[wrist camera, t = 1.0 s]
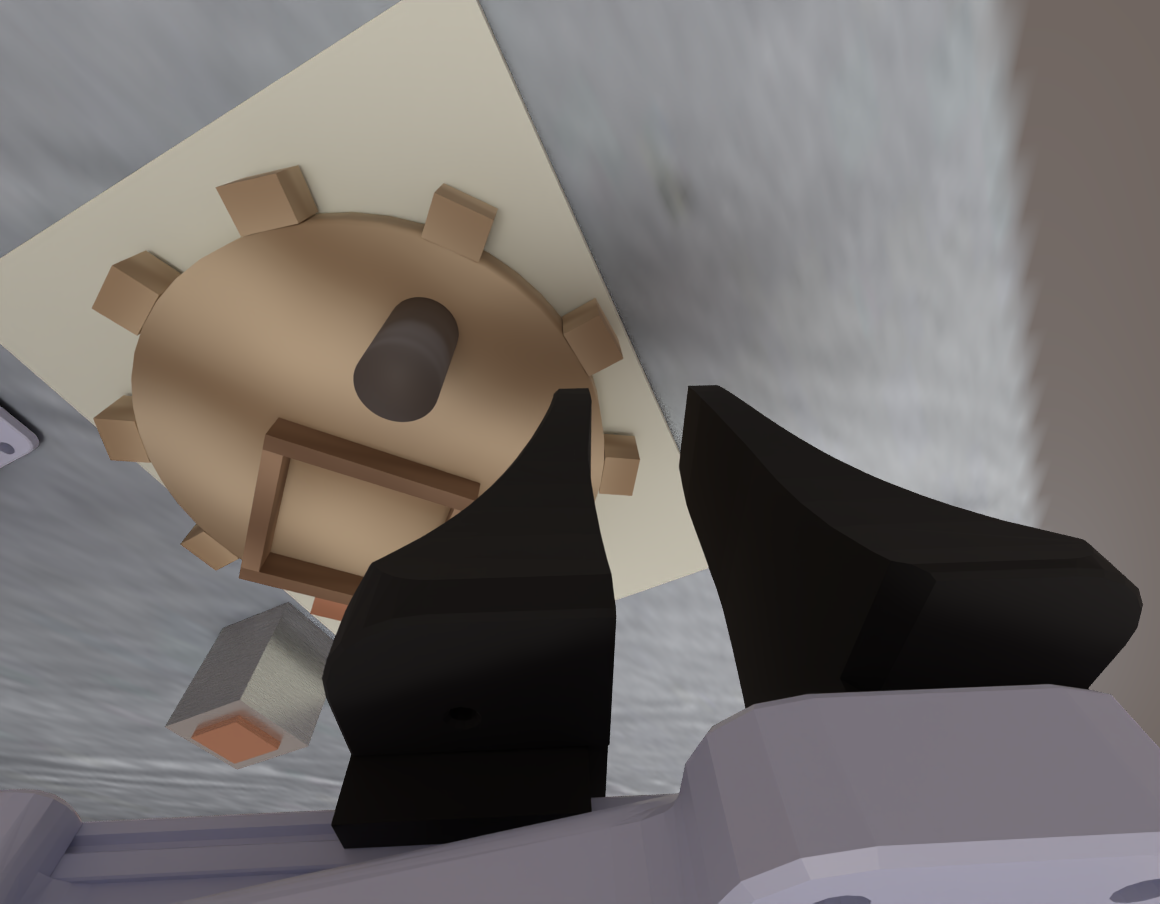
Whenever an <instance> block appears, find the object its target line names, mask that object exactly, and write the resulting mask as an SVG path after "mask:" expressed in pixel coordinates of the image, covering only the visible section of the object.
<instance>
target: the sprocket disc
mask: <svg viewBox="0 0 1160 904" xmlns="http://www.w3.org/2000/svg"><path fill="white" fill-rule="evenodd" d="M215 188H216V189H217V191H218V193H219V195H220V197H221V199H222V201H223V203H224V205H225V207H226V209H227V211H228V213H229V214H230V216H231V218H232V220H233V222H234V224H235V226H236V228H237V230H238V232H239V234H240V236H242V237H240V238H238V239H236V240H234V241H233V242H231V243H229V244H227V245H225V246H223V247H221V248H220V249H218V250H216V251H214V252H212V253H210V254H209V255H207V256H205V257H203V258H201V259H200V260H198V261H197V262H196V263H195V264H193V265H192V266H191V267H190V268H188V269H187V270H186V271H185V272H183V273H182V274H181V273H179V272H178V271H176V270H175V269H173V268H172V267H170V266H169V265H167V264H166V263H164V262H163V261H161V260H159V259H158V258H156V257H155V256H153V255H152V254H150V253H149V252H147V251H143V252H141V253H139V254H136V255H134V256H132V257H130V258H127V259H125V260H123V261H120V262H118V263H116V264H114V265H112V266H111V268H110V270H109V273H108V275H107V277H106V279H105V281H104V283H103V285H102V287H101V289H100V292H99V294H98V296H97V298H96V300H95V302H94V304H93V306H92V308H91V309H93V310H95V311H96V312H98V313H100V314H101V315H103V316H105V317H106V318H108V319H110V320H112V321H113V322H115V323H117V324H118V325H120V326H122V327H123V328H125V329H127V330H128V331H130V332H132V333H133V334H135V335H137V336H138V335H139V334H140V336H139V339H138V343H137V346H136V349H135V352H134V360H133V368H132V376H131V385H132V396H126V395H123V396H122V397H120V398H119V399H118V400H116V401H115V402H114V403H112V404H111V405H110V406H108V407H107V408H106V409H105V410H103V411H102V412H101V413H99V414H98V415H97V416H95V417H94V418H93V420H94V422H95V424H96V427H97V429H98V431H99V434H100V436H101V439H102V441H103V443H104V446H105V448H106V450H107V453H108V455H109V458H110V460H116V461H131V462H145V463H150V462H151V463H152V465H153V466H154V468H155V470H156V472H157V474H158V475H159V477H160V479H161V481H162V482H163V484H164V485H165V486H166V488H167V489H168V490H169V492H170V493H171V495H172V496H173V497H174V499H175V500H176V501H177V503H178V504H179V505H180V506H181V507H182V508H183V509H184V511H185V512H186V513H187V514H188V515H189V516H190V517H191V518H192V519H193V520H194V521H195V523H196V525H195V526H194V527H193V529H192V530H191V531H190V532H189V534H188V535H187V536H186V538H185V539H184V540H183V541H182V543H181V545H182V546H183V547H185V548H186V549H187V550H189V551H190V552H191V553H193V554H194V555H196V556H197V557H198V558H200V559H201V560H202V561H204V562H205V563H206V564H208V565H209V566H210V567H212V568H213V569H214V570H218V569H220V568H222V567H224V566H226V565H228V564H230V563H231V562H233V561H235V560H237V559H239V558H240V559H242V564H241V569H240V575H239V578H240V579H244V580H248V581H252V582H256V583H260V584H264V585H268V586H272V587H276V588H280V589H284V590H288V591H292V592H296V593H300V594H304V595H308V596H312V597H315V599H314V602H313V605H312V609H311V612H310V614H313V615H317V616H321V617H325V618H330V619H334V620H338V621H341V620H342V618H343V615H344V613H345V610H346V608H347V606H348V604H349V602H350V600H351V599H352V597H353V595H354V593H355V591H356V589H357V588H358V586H359V584H360V582H361V581H362V579H363V577H364V575H365V573H366V571H367V570H368V568H369V566H370V564H371V563H372V562H374V561H376V560H378V559H380V558H382V557H384V556H386V555H388V554H390V553H392V552H394V551H396V550H398V549H400V548H402V547H404V546H406V545H407V544H409V543H411V542H413V541H415V540H417V539H419V538H421V537H422V536H424V535H426V534H427V533H429V532H431V531H432V530H434V529H435V528H437V527H439V526H440V525H442V524H443V523H445V522H446V521H448V520H449V519H451V518H452V517H454V516H455V515H457V514H458V513H459V512H461V511H462V510H464V509H465V508H466V507H467V506H469V505H470V504H471V503H472V502H473V501H475V500H476V499H477V498H478V497H479V496H480V495H482V494H483V493H484V492H485V491H486V490H487V489H488V488H489V487H490V486H492V485H493V484H494V483H495V481H496V480H497V479H498V478H499V477H500V476H501V475H502V474H503V473H504V472H505V471H506V470H507V469H508V468H509V466H510V465H511V464H512V463H513V462H514V461H515V459H516V458H517V457H518V455H519V454H520V453H521V451H522V450H523V449H524V447H525V446H526V445H527V443H528V442H529V441H530V439H531V438H532V436H533V435H534V433H535V431H536V430H537V428H538V426H539V425H540V423H541V421H542V420H543V418H544V416H545V414H546V412H547V410H548V408H549V406H550V404H551V401H552V399H553V394H554V393H555V392H556V391H557V390H558V389H568V388H589V391H590V395H591V399H592V420H591V482H592V488H593V495H594V501H595V500H596V497H597V494H598V491H599V494H611V495H626V496H632V494H633V490H634V485H635V481H636V476H637V471H638V467H639V462H640V457H639V453H638V448H637V444H636V440H635V436H626V435H614V434H603V427H602V420H601V413H600V407H599V400H598V394H597V389H596V386H595V383H594V380H593V376H592V375H593V374H595V373H597V372H599V371H601V370H603V369H605V368H607V367H609V366H611V365H612V364H614V363H616V362H618V361H620V360H622V359H623V355H622V351H621V347H620V343H619V339H618V337H617V336H616V334H615V332H614V330H613V328H612V327H611V325H610V323H609V321H608V319H607V318H606V316H605V314H604V312H603V310H602V309H601V307H600V305H599V303H598V301H597V300H596V298H594V299H592V300H591V301H589V302H587V303H585V304H584V305H582V306H580V307H578V308H576V309H575V310H573V311H571V312H569V313H567V314H566V315H564V316H562V317H561V316H560V315H559V314H558V313H557V312H556V310H555V309H554V308H553V307H552V306H551V305H550V303H549V302H548V301H547V300H546V299H545V298H544V297H543V295H542V294H541V293H540V292H539V291H537V290H536V289H535V288H534V287H533V286H532V285H531V284H530V283H528V282H527V281H526V280H525V279H524V278H523V277H522V276H521V275H519V274H518V273H517V272H516V271H514V270H513V269H512V268H510V267H509V266H507V265H506V264H504V263H503V262H501V261H500V260H499V259H497V258H496V257H494V256H493V255H491V254H490V253H488V252H486V251H484V247H485V244H486V241H487V238H488V236H489V233H490V230H491V227H492V224H493V222H494V219H495V216H496V213H497V210H498V208H496V207H493V206H491V205H489V204H487V203H485V202H483V201H481V200H479V199H476V198H474V197H472V196H470V195H468V194H466V193H464V192H462V191H459V190H457V189H455V188H453V187H451V186H449V185H447V184H444V183H443V184H442V185H441V186H440V187H439V188H438V189H437V190H436V191H435V192H434V195H433V198H432V202H431V205H430V209H429V212H428V215H427V219H426V222H425V224H422V223H417V222H413V221H409V220H405V219H400V218H396V217H392V216H386V215H376V214H366V213H357V212H344V213H318V214H315V213H317V212H318V209H317V207H316V205H315V203H314V200H313V198H312V196H311V193H310V191H309V189H308V186H307V184H306V182H305V179H304V177H303V175H302V172H301V170H300V168H299V166H298V165H297V166H293V167H288V168H284V169H280V170H275V171H271V172H267V173H262V174H258V175H254V176H250V177H245V178H242V179H239V180H236V181H233V182H230V183H227V184H224V185H221V186H218V187H215Z"/></svg>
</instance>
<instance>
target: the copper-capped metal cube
mask: <svg viewBox="0 0 1160 904" xmlns="http://www.w3.org/2000/svg"><path fill="white" fill-rule="evenodd" d="M333 641H334V640H333V639H331V638H330V637H329V636H328V635H327V634H326V633H324V632H323V631H322V630H321V629H320V628H319V627H317V626H316V625H315V624H314V623H313V622H312V621H310V620H309V619H308V618H307V617H306V616H305V615H303V614H302V613H301V612H300V611H299V610H298V609H296V608H295V607H294V606H293V605H292V604H291V603H289V602H287V603H284V604H282V605H279V606H277V607H274V608H272V609H269V610H267V611H264V612H262V613H259V614H257V615H254V616H252V617H249V618H247V619H244V620H242V621H239V622H237V623H234V624H232V625H229V626H227V627H224V628H223V629H222V631H221V632H220V634H219V636H218V638H217V639H216V641H215V643H214V644H213V646H212V648H211V649H210V651H209V653H208V654H207V656H206V658H205V660H204V661H203V663H202V665H201V666H200V668H199V670H198V671H197V673H196V675H195V676H194V678H193V680H192V682H191V683H190V685H189V687H188V688H187V690H186V692H185V693H184V695H183V697H182V698H181V700H180V702H179V704H178V705H177V707H176V709H175V710H174V712H173V714H172V715H171V717H170V719H169V720H168V722H167V724H166V726H165V727H166V728H167V729H169V730H171V731H173V732H174V733H176V734H178V735H179V736H181V737H183V738H184V739H186V740H188V741H190V742H191V743H193V744H195V745H196V746H198V747H200V748H201V749H203V750H205V751H206V752H208V753H210V754H212V755H213V756H215V757H217V758H218V759H220V760H222V761H223V762H225V763H227V764H229V765H230V766H232V767H234V768H235V769H240V768H243V767H246V766H249V765H252V764H255V763H258V762H261V761H264V760H268V759H271V758H274V757H277V756H280V755H283V754H286V753H289V752H292V751H295V750H298V749H301V748H304V747H307V746H309V743H310V740H311V737H312V735H313V732H314V729H315V726H316V724H317V721H318V718H319V715H320V712H321V710H322V707H323V704H324V701H325V699H326V696H325V691H324V686H323V682H322V675H323V671H324V668H325V664H326V660H327V657H328V654H329V652H330V649H331V646H332V644H333Z"/></svg>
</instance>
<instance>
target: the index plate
mask: <svg viewBox="0 0 1160 904" xmlns="http://www.w3.org/2000/svg"><path fill="white" fill-rule="evenodd" d="M297 165H298V166H299V168H300V170H301V172H302V175H303V177H304V179H305V182H306V184H307V186H308V189H309V191H310V193H311V196H312V198H313V200H314V203H315V205H316V207H317V209H318V212H317V213H315V214H318V213H344V212H357V213H366V214H376V215H386V216H392V217H396V218H400V219H405V220H409V221H413V222H417V223H422V224H425V222H426V219H427V215H428V212H429V209H430V205H431V202H432V198H433V195H434V192H435V191H436V190H437V189H438V188H439V187H440V186H441V185H442V184H443V183H444V184H447V185H449V186H451V187H453V188H455V189H457V190H459V191H462V192H464V193H466V194H468V195H470V196H472V197H474V198H476V199H479V200H481V201H483V202H485V203H487V204H489V205H491V206H493V207H496V208H498V210H497V213H496V216H495V219H494V222H493V224H492V227H491V230H490V233H489V236H488V238H487V241H486V244H485V247H484V251H486V252H488V253H490V254H491V255H493V256H494V257H496V258H497V259H499V260H500V261H501V262H503V263H504V264H506V265H507V266H509V267H510V268H512V269H513V270H514V271H516V272H517V273H518V274H519V275H521V276H522V277H523V278H524V279H525V280H526V281H527V282H528V283H530V284H531V285H532V286H533V287H534V288H535V289H536V290H537V291H539V292H540V293H541V294H542V295H543V297H544V298H545V299H546V300H547V301H548V302H549V303H550V305H551V306H552V307H553V308H554V309H555V310H556V312H557V313H558V314H559V315H560V316H561V317H562V316H564V315H566V314H567V313H569V312H571V311H573V310H575V309H576V308H578V307H580V306H582V305H584V304H585V303H587V302H589V301H591V300H592V299H594V298H596V300H597V301H598V303H599V305H600V307H601V309H602V310H603V312H604V314H605V316H606V318H607V319H608V321H609V323H610V325H611V327H612V328H613V330H614V332H615V334H616V336H617V337H618V339H619V343H620V347H621V351H622V355H623V359H622V360H620V361H618V362H616V363H614V364H612V365H611V366H609V367H607V368H605V369H603V370H601V371H599V372H597V373H595V374H593V375H592V376H593V380H594V383H595V386H596V389H597V394H598V400H599V407H600V413H601V420H602V427H603V434H614V435H626V436H635V440H636V444H637V448H638V453H639V457H640V462H639V467H638V471H637V476H636V481H635V485H634V490H633V494H632V496H626V495H611V494H599V491H598V494H597V497H596V500H595V507H596V512H597V517H598V522H599V527H600V532H601V536H602V540H603V544H604V548H605V552H606V556H607V560H608V563H609V567H610V570H611V573H612V581H613V589H614V597H615V600H618V599H620V598H623V597H626V596H629V595H632V594H635V593H638V592H641V591H644V590H646V589H649V588H652V587H655V586H658V585H661V584H664V583H667V582H670V581H672V580H675V579H678V578H681V577H684V576H687V575H690V574H693V573H696V572H698V571H701V570H704V569H707V568H709V567H708V564H707V561H706V558H705V556H704V553H703V550H702V548H701V545H700V542H699V539H698V537H697V534H696V531H695V528H694V525H693V523H692V520H691V517H690V514H689V511H688V508H687V505H686V501H685V496H684V492H683V487H682V482H681V476H680V471H679V460H680V451H679V449H678V447H677V444H676V442H675V440H674V438H673V435H672V433H671V431H670V429H669V426H668V424H667V422H666V420H665V417H664V415H663V413H662V411H661V409H660V406H659V404H658V402H657V400H656V397H655V395H654V393H653V391H652V388H651V386H650V384H649V382H648V379H647V377H646V375H645V373H644V370H643V368H642V366H641V364H640V361H639V359H638V357H637V355H636V352H635V350H634V348H633V346H632V343H631V341H630V339H629V337H628V334H627V332H626V330H625V328H624V326H623V323H622V321H621V319H620V317H619V314H618V312H617V310H616V308H615V305H614V303H613V301H612V299H611V296H610V294H609V292H608V290H607V287H606V285H605V283H604V281H603V278H602V276H601V274H600V272H599V269H598V267H597V265H596V263H595V260H594V258H593V256H592V254H591V252H590V249H589V247H588V245H587V243H586V240H585V238H584V236H583V234H582V231H581V229H580V227H579V225H578V222H577V220H576V218H575V216H574V213H573V211H572V209H571V207H570V204H569V202H568V200H567V198H566V195H565V193H564V191H563V189H562V186H561V184H560V182H559V180H558V178H557V175H556V173H555V171H554V169H553V166H552V164H551V162H550V160H549V157H548V155H547V153H546V151H545V148H544V146H543V144H542V142H541V139H540V137H539V135H538V133H537V130H536V128H535V126H534V124H533V121H532V119H531V117H530V115H529V112H528V110H527V108H526V106H525V103H524V101H523V99H522V97H521V95H520V92H519V90H518V88H517V86H516V83H515V81H514V79H513V77H512V74H511V72H510V70H509V68H508V65H507V63H506V61H505V59H504V56H503V54H502V52H501V50H500V47H499V45H498V43H497V41H496V38H495V36H494V34H493V32H492V29H491V27H490V25H489V23H488V21H487V18H486V16H485V14H484V12H483V9H482V7H481V5H480V3H479V0H402V1H400V2H399V3H397V4H396V5H394V6H392V7H391V8H389V9H388V10H386V11H385V12H383V13H381V14H380V15H378V16H377V17H375V18H374V19H372V20H371V21H369V22H367V23H366V24H364V25H363V26H361V27H360V28H358V29H357V30H355V31H353V32H352V33H350V34H349V35H347V36H346V37H344V38H343V39H341V40H339V41H338V42H336V43H335V44H333V45H332V46H330V47H329V48H327V49H325V50H324V51H322V52H321V53H319V54H318V55H316V56H315V57H313V58H311V59H310V60H308V61H307V62H305V63H304V64H302V65H301V66H299V67H297V68H296V69H294V70H293V71H291V72H290V73H288V74H286V75H285V76H283V77H282V78H280V79H279V80H277V81H276V82H274V83H272V84H271V85H269V86H268V87H266V88H265V89H263V90H262V91H260V92H258V93H257V94H255V95H254V96H252V97H251V98H249V99H248V100H246V101H244V102H243V103H241V104H240V105H238V106H237V107H235V108H234V109H232V110H230V111H229V112H227V113H226V114H224V115H223V116H221V117H220V118H218V119H216V120H215V121H213V122H212V123H210V124H209V125H207V126H206V127H204V128H202V129H201V130H199V131H198V132H196V133H195V134H193V135H191V136H190V137H188V138H187V139H185V140H184V141H182V142H181V143H179V144H177V145H176V146H174V147H173V148H171V149H170V150H168V151H167V152H165V153H163V154H162V155H160V156H159V157H157V158H156V159H154V160H153V161H151V162H149V163H148V164H146V165H145V166H143V167H142V168H140V169H139V170H137V171H135V172H134V173H132V174H131V175H129V176H128V177H126V178H125V179H123V180H121V181H120V182H118V183H117V184H115V185H114V186H112V187H111V188H109V189H107V190H106V191H104V192H103V193H101V194H100V195H98V196H96V197H95V198H93V199H92V200H90V201H89V202H87V203H86V204H84V205H82V206H81V207H79V208H78V209H76V210H75V211H73V212H72V213H70V214H68V215H67V216H65V217H64V218H62V219H61V220H59V221H58V222H56V223H54V224H53V225H51V226H50V227H48V228H47V229H45V230H44V231H42V232H40V233H39V234H37V235H36V236H34V237H33V238H31V239H30V240H28V241H26V242H25V243H23V244H22V245H20V246H19V247H17V248H16V249H14V250H12V251H11V252H9V253H8V254H6V255H5V256H3V257H1V258H0V344H1V345H2V346H3V347H5V348H6V349H7V350H8V351H9V352H10V353H11V354H13V355H14V356H15V357H16V358H17V359H18V360H19V361H21V362H22V363H23V364H24V365H25V366H26V367H28V368H29V369H30V370H31V371H32V372H33V373H34V374H36V375H37V376H38V377H39V378H40V379H41V380H43V381H44V382H45V383H46V384H47V385H48V386H49V387H51V388H52V389H53V390H54V391H55V392H56V393H57V394H59V395H60V396H61V397H62V398H63V399H64V400H66V401H67V402H68V403H69V404H70V405H71V406H72V407H74V408H75V409H76V410H77V411H78V412H79V413H81V414H82V415H83V416H84V417H85V418H86V419H87V420H89V421H90V422H91V423H92V424H93V425H94V426H95V427H96V424H95V422H94V420H93V418H94V417H95V416H97V415H98V414H99V413H101V412H102V411H103V410H105V409H106V408H107V407H108V406H110V405H111V404H112V403H114V402H115V401H116V400H118V399H119V398H120V397H122V396H123V395H126V396H132V385H131V376H132V368H133V360H134V352H135V349H136V346H137V343H138V339H139V336H140V334H139V335H138V336H137V335H135V334H133V333H132V332H130V331H128V330H127V329H125V328H123V327H122V326H120V325H118V324H117V323H115V322H113V321H112V320H110V319H108V318H106V317H105V316H103V315H101V314H100V313H98V312H96V311H95V310H93V309H91V308H92V306H93V304H94V302H95V300H96V298H97V296H98V294H99V292H100V289H101V287H102V285H103V283H104V281H105V279H106V277H107V275H108V273H109V270H110V268H111V266H112V265H114V264H116V263H118V262H120V261H123V260H125V259H127V258H130V257H132V256H134V255H136V254H139V253H141V252H143V251H147V252H149V253H150V254H152V255H153V256H155V257H156V258H158V259H159V260H161V261H163V262H164V263H166V264H167V265H169V266H170V267H172V268H173V269H175V270H176V271H178V272H179V273H181V274H182V273H183V272H185V271H186V270H187V269H188V268H190V267H191V266H192V265H193V264H195V263H196V262H197V261H198V260H200V259H201V258H203V257H205V256H207V255H209V254H210V253H212V252H214V251H216V250H218V249H220V248H221V247H223V246H225V245H227V244H229V243H231V242H233V241H234V240H236V239H238V238H240V237H242V236H240V234H239V232H238V230H237V228H236V226H235V224H234V222H233V220H232V218H231V216H230V214H229V213H228V211H227V209H226V207H225V205H224V203H223V201H222V199H221V197H220V195H219V193H218V191H217V189H216V188H215V187H218V186H221V185H224V184H227V183H230V182H233V181H236V180H239V179H242V178H245V177H250V176H254V175H258V174H262V173H267V172H271V171H275V170H280V169H284V168H288V167H293V166H297ZM137 463H138V464H139V465H140V466H142V467H143V468H144V469H145V470H146V471H147V472H148V473H150V474H151V475H152V476H153V477H154V478H155V479H157V480H158V481H159V482H160V483H161V484H162V485H163V486H165V485H164V484H163V482H162V481H161V479H160V477H159V475H158V474H157V472H156V470H155V468H154V466H153V465H152V463H151V462H150V463H145V462H137ZM165 487H166V486H165ZM283 590H284V589H283ZM284 591H285V592H287V593H288V594H289V595H290V596H291V597H292V598H294V599H295V600H296V601H297V602H298V603H299V604H300V605H302V606H303V607H304V608H305V609H306V610H307V611H309V612H311V609H312V605H313V602H314V599H315V597H312V596H308V595H304V594H300V593H296V592H292V591H288V590H284ZM312 615H313V614H312ZM313 616H314V617H315V618H317V619H318V620H319V621H320V622H321V623H322V624H323V625H325V626H326V627H327V628H328V629H329V630H330V631H332V632H333V633H334V634H335V635H336V633H337V631H338V628H339V625H340V623H341V621H338V620H334V619H330V618H325V617H321V616H317V615H313Z"/></svg>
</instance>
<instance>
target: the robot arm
mask: <svg viewBox="0 0 1160 904" xmlns="http://www.w3.org/2000/svg"><path fill="white" fill-rule="evenodd" d="M591 420H592V399H591V395H590V391H589V388H568V389H558V390H557V391H556V392H555V393H554V394H553V399H552V401H551V404H550V406H549V408H548V410H547V412H546V414H545V416H544V418H543V420H542V421H541V423H540V425H539V426H538V428H537V430H536V431H535V433H534V435H533V436H532V438H531V439H530V441H529V442H528V443H527V445H526V446H525V447H524V449H523V450H522V451H521V453H520V454H519V455H518V457H517V458H516V459H515V461H514V462H513V463H512V464H511V465H510V466H509V468H508V469H507V470H506V471H505V472H504V473H503V474H502V475H501V476H500V477H499V478H498V479H497V480H496V481H495V483H494V484H493V485H492V486H490V487H489V488H488V489H487V490H486V491H485V492H484V493H483V494H482V495H480V496H479V497H478V498H477V499H476V500H475V501H473V502H472V503H471V504H470V505H469V506H467V507H466V508H465V509H464V510H462V511H461V512H459V513H458V514H457V515H455V516H454V517H452V518H451V519H449V520H448V521H446V522H445V523H443V524H442V525H440V526H439V527H437V528H435V529H434V530H432V531H431V532H429V533H427V534H426V535H424V536H422V537H421V538H419V539H417V540H415V541H413V542H411V543H409V544H407V545H406V546H404V547H402V548H400V549H398V550H396V551H394V552H392V553H390V554H388V555H386V556H384V557H382V558H380V559H378V560H376V561H374V562H372V563H371V564H370V566H369V568H368V570H367V571H366V573H365V575H364V577H363V579H362V581H361V582H360V584H359V586H358V588H357V589H356V591H355V593H354V595H353V597H352V599H351V600H350V602H349V604H348V606H347V608H346V610H345V613H344V615H343V618H342V620H341V623H340V625H339V628H338V631H337V633H336V636H335V638H334V641H333V644H332V646H331V649H330V652H329V654H328V657H327V660H326V664H325V668H324V671H323V675H322V682H323V686H324V691H325V696H326V698H327V701H328V703H329V705H330V707H331V710H332V712H333V714H334V716H335V719H336V721H337V723H338V725H339V728H340V730H341V732H342V734H343V737H344V739H345V741H346V744H347V746H348V748H349V750H350V753H351V758H350V761H349V764H348V768H347V771H346V775H345V778H344V782H343V785H342V788H341V792H340V795H339V799H338V802H337V806H336V809H335V810H322V811H301V812H280V813H259V814H238V815H217V816H196V817H175V818H154V819H133V820H111V821H90V822H82V821H81V819H80V817H79V815H78V814H77V813H76V811H75V810H74V809H73V807H72V806H70V805H69V804H68V803H67V802H66V801H65V800H63V799H61V798H60V797H58V796H56V795H54V794H51V793H47V792H44V791H40V790H30V789H8V790H0V904H1160V748H1159V747H1158V746H1157V745H1156V744H1155V743H1154V741H1152V739H1151V738H1150V737H1149V736H1148V735H1147V734H1146V733H1145V732H1144V730H1142V728H1141V727H1140V726H1139V725H1138V724H1137V723H1136V722H1135V721H1134V719H1133V718H1132V717H1131V716H1130V715H1129V714H1128V713H1127V712H1126V710H1125V709H1124V708H1123V707H1122V706H1121V705H1120V704H1119V703H1118V702H1117V700H1116V699H1115V698H1114V697H1113V696H1112V695H1111V694H1107V693H1102V692H1098V691H1093V690H1089V689H1088V688H1089V686H1090V685H1091V684H1092V683H1093V682H1094V681H1095V680H1096V678H1097V677H1098V676H1099V675H1100V673H1102V671H1103V670H1104V669H1105V668H1106V667H1107V666H1108V665H1109V663H1110V662H1111V661H1112V660H1113V659H1114V658H1115V656H1116V655H1117V654H1118V653H1119V652H1120V650H1121V649H1122V648H1123V647H1124V646H1125V645H1126V643H1127V642H1128V641H1129V639H1130V638H1131V636H1132V635H1133V633H1134V632H1135V630H1136V629H1137V626H1138V622H1139V619H1140V615H1141V611H1142V606H1143V603H1142V600H1141V596H1140V592H1139V589H1138V588H1137V587H1136V586H1135V585H1134V584H1133V583H1132V582H1131V581H1129V580H1128V579H1127V578H1126V577H1125V576H1124V575H1123V574H1122V573H1121V572H1120V571H1118V570H1117V569H1116V568H1115V567H1114V566H1113V565H1112V564H1111V563H1110V562H1109V561H1108V560H1106V559H1105V558H1104V557H1103V556H1102V555H1101V554H1100V553H1098V551H1096V550H1095V549H1094V548H1093V547H1092V546H1091V545H1090V544H1089V543H1087V542H1086V541H1085V540H1083V539H1079V538H1075V537H1071V536H1066V535H1062V534H1058V533H1054V532H1050V531H1045V530H1041V529H1037V528H1033V527H1028V526H1024V525H1020V524H1016V523H1011V522H1007V521H1003V520H999V519H996V518H992V517H989V516H985V515H982V514H979V513H975V512H972V511H969V510H965V509H962V508H958V507H955V506H952V505H949V504H946V503H943V502H940V501H937V500H934V499H931V498H928V497H925V496H922V495H919V494H917V493H914V492H912V491H909V490H906V489H904V488H901V487H898V486H896V485H893V484H891V483H888V482H886V481H883V480H881V479H879V478H876V477H874V476H871V475H869V474H867V473H865V472H863V471H861V470H859V469H856V468H854V467H852V466H850V465H848V464H846V463H844V462H842V461H840V460H838V459H836V458H834V457H832V456H830V455H828V454H826V453H824V452H822V451H821V450H819V449H817V448H815V447H814V446H812V445H810V444H808V443H807V442H805V441H803V440H802V439H800V438H798V437H796V436H795V435H793V434H792V433H790V432H788V431H787V430H785V429H784V428H782V427H781V426H779V425H778V424H776V423H774V422H773V421H771V420H770V419H768V418H767V417H765V416H764V415H763V414H761V413H760V412H758V411H757V410H755V409H754V408H752V407H751V406H749V405H748V404H747V403H745V402H744V401H742V400H741V399H739V398H738V397H736V396H735V395H733V394H732V393H730V392H729V391H727V390H725V389H724V388H722V387H720V386H718V385H708V386H688V394H687V402H686V410H685V418H684V427H683V435H682V443H681V452H680V460H679V471H680V476H681V482H682V487H683V492H684V496H685V501H686V505H687V508H688V511H689V514H690V517H691V520H692V523H693V525H694V528H695V531H696V534H697V537H698V539H699V542H700V545H701V548H702V550H703V553H704V556H705V558H706V561H707V564H708V567H709V569H710V572H711V575H712V578H713V580H714V583H715V586H716V589H717V591H718V595H719V598H720V601H721V604H722V608H723V611H724V615H725V619H726V624H727V628H728V632H729V636H730V640H731V644H732V649H733V653H734V657H735V662H736V666H737V671H738V675H739V680H740V685H741V689H742V694H743V698H744V703H745V708H746V709H744V710H742V711H740V712H738V713H737V714H735V715H733V716H731V717H729V718H727V719H725V720H723V721H721V722H720V723H718V724H716V725H714V726H712V727H711V729H710V730H709V731H708V733H707V734H706V735H705V737H704V738H703V740H702V741H701V742H700V744H699V745H698V747H697V748H696V750H695V751H694V752H693V754H692V755H691V757H690V758H689V759H688V761H687V762H686V764H685V768H684V773H683V778H682V783H681V788H680V793H677V794H660V795H639V796H618V797H605V793H606V774H607V754H608V745H609V743H610V724H611V705H612V686H613V668H614V649H615V630H616V605H615V597H614V589H613V581H612V573H611V570H610V567H609V563H608V560H607V556H606V552H605V548H604V544H603V540H602V536H601V532H600V527H599V522H598V517H597V512H596V507H595V501H594V495H593V488H592V482H591ZM9 444H10V445H9ZM38 446H39V440H38V438H37V436H36V435H35V434H34V433H33V432H32V431H31V430H29V429H28V428H27V427H26V426H24V425H23V424H22V423H21V422H19V421H18V420H17V419H16V418H14V417H13V416H12V415H11V414H10V413H8V412H7V411H6V410H5V409H3V408H2V407H1V406H0V468H2V467H4V466H6V465H7V464H9V463H11V462H13V461H15V460H17V459H19V458H21V457H22V456H24V455H26V454H28V453H30V452H31V451H33V450H34V449H35V448H37V447H38Z"/></svg>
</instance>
